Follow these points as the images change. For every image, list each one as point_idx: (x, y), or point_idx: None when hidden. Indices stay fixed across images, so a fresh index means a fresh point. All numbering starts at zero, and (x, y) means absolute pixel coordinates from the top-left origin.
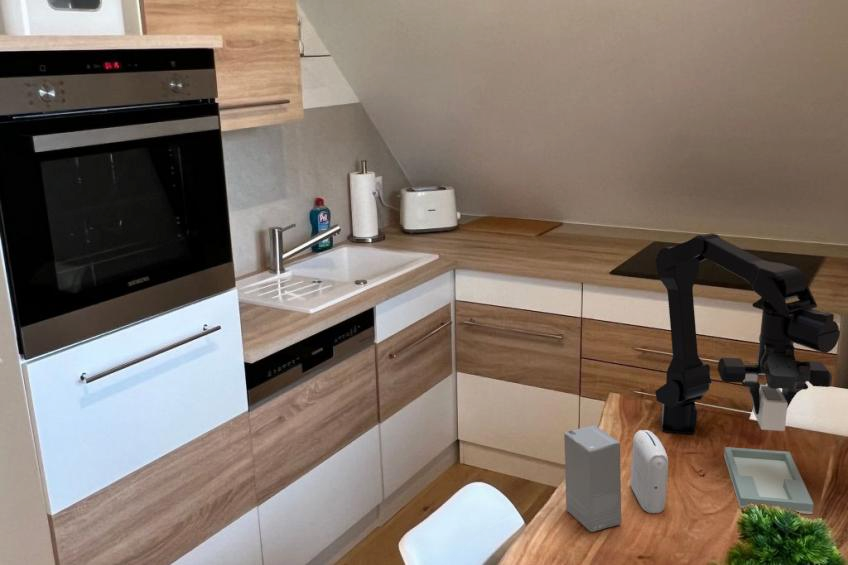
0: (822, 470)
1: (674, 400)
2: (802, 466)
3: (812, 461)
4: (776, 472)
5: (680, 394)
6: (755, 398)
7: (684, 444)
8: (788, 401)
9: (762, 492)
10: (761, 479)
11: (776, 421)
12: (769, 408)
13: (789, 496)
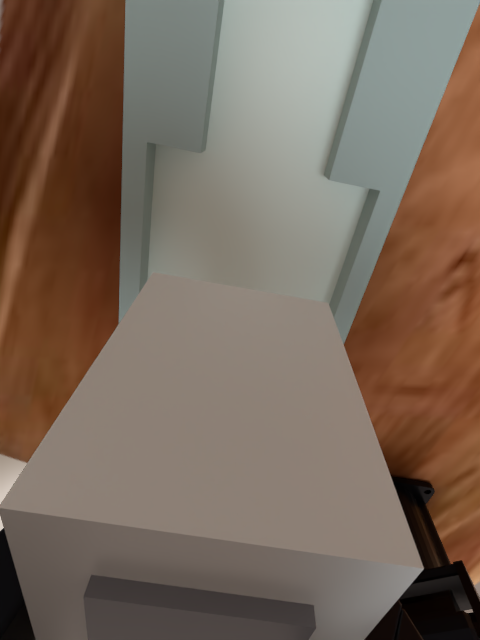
0: (32, 275)
1: (477, 595)
2: (92, 301)
3: (54, 328)
4: (195, 255)
5: (477, 626)
6: (388, 625)
7: (406, 430)
8: (9, 553)
9: (311, 96)
10: (270, 207)
11: (214, 323)
12: (306, 448)
13: (221, 4)
